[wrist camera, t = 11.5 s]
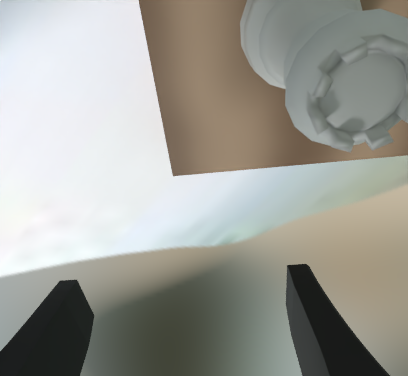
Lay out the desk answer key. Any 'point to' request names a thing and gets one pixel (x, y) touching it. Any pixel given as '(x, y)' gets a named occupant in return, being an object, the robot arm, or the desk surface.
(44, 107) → the desk surface
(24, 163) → the desk surface
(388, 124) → the rook chess piece
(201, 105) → the walnut block
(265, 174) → the desk surface
